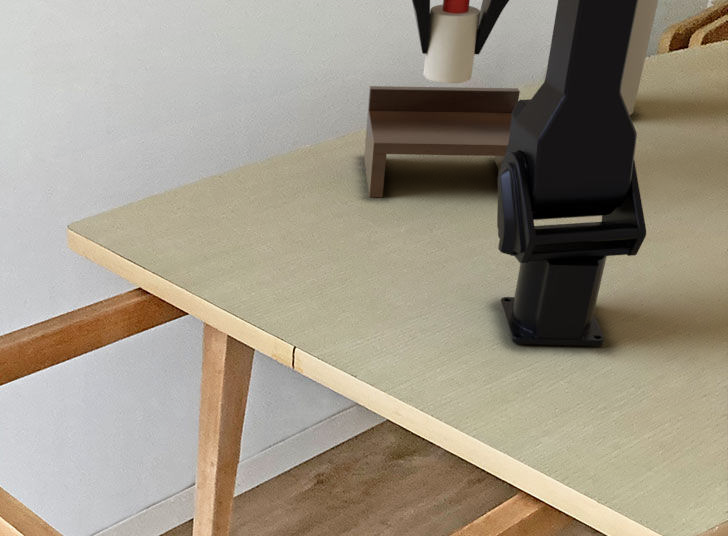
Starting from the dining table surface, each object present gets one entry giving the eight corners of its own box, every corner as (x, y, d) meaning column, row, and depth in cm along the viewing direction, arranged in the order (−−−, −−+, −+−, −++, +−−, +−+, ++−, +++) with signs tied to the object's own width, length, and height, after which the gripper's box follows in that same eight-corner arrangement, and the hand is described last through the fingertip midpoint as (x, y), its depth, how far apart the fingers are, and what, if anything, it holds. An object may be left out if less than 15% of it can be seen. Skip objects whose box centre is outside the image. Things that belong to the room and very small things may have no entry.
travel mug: (610, 127, 114) (650, -61, 103) (543, 111, 118) (575, -72, 107) (645, 110, 119) (688, -73, 108) (580, 94, 123) (614, -83, 112)
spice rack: (523, 200, 98) (536, 122, 94) (369, 197, 99) (375, 120, 95) (506, 160, 106) (518, 88, 102) (364, 158, 107) (369, 85, 103)
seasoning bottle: (474, 83, 94) (487, -16, 89) (425, 83, 94) (436, -16, 89) (467, 69, 97) (480, -27, 92) (421, 68, 97) (431, -28, 93)
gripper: (574, -167, 91) (540, 29, 101) (352, -168, 92) (340, 26, 101) (604, -148, 82) (564, 64, 92) (358, -150, 83) (345, 61, 92)
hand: (450, 52), depth 95 cm, fingers closed on seasoning bottle, 4 cm apart
